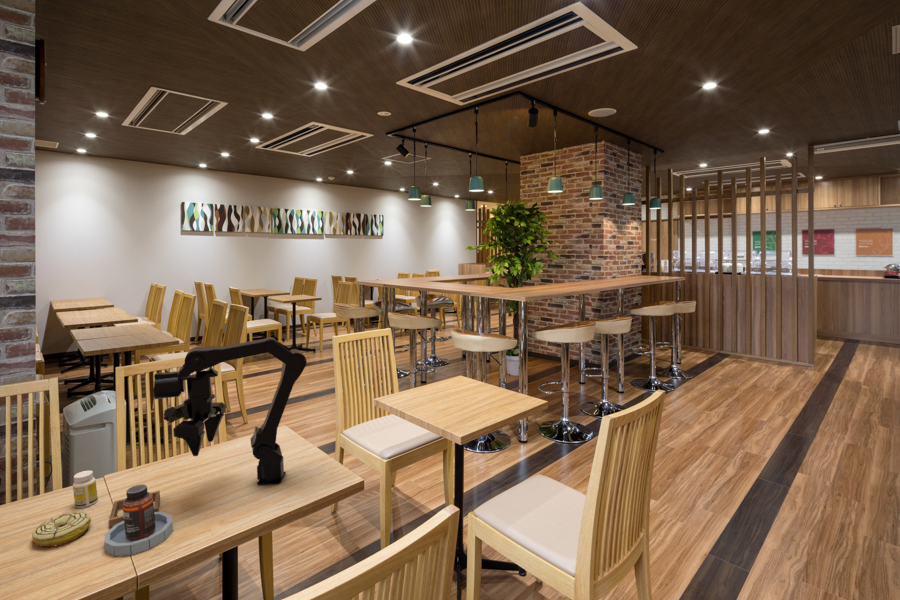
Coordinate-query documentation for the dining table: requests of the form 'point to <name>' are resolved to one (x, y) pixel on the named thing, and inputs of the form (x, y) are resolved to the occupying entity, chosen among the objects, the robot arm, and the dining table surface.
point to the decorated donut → (61, 529)
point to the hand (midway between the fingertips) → (203, 448)
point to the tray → (119, 505)
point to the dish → (123, 547)
